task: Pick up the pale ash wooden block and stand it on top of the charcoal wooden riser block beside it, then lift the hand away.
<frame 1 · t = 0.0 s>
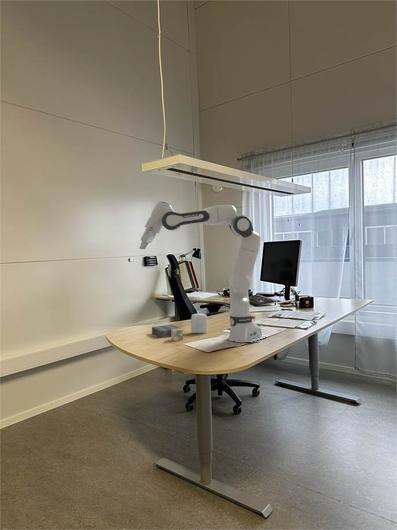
hand: (141, 249, 204), 54 cm above the table, tool tilted 30°, fingers open, 8 cm apart
riser block: (166, 334, 225), on the table
photo printer: (199, 333, 226), on the table
ash block: (177, 339, 211), on the table
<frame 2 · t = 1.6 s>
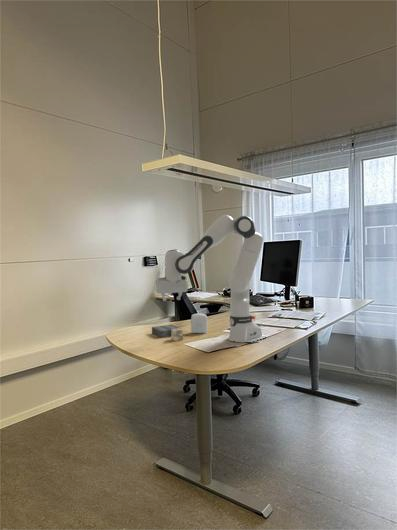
hand: (171, 300, 209), 24 cm above the table, tool pointing down, fingers open, 8 cm apart
nothing on the table moved.
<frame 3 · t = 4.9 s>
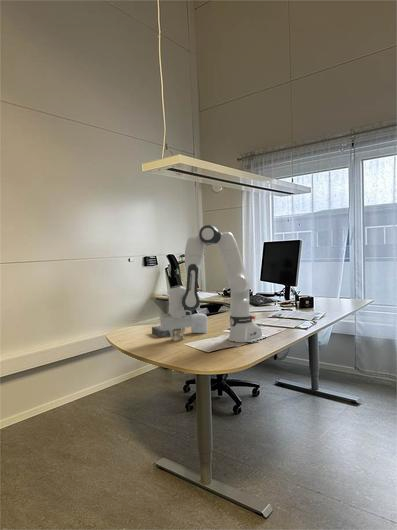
hand: (177, 335, 211), 2 cm above the table, tool pointing down, fingers closed on ash block, 5 cm apart
ash block: (177, 339, 211), on the table, touching gripper
everything else where it was.
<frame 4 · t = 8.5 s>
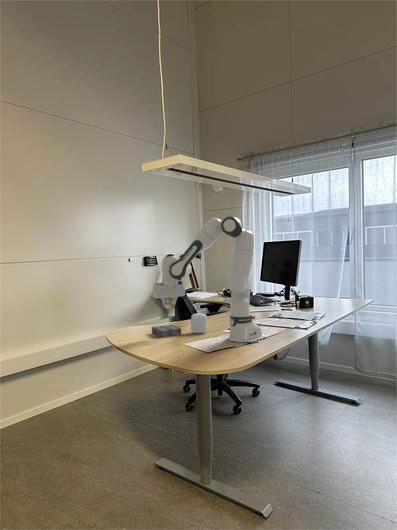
hand: (169, 304, 217), 20 cm above the table, tool pointing down, fingers closed on ash block, 5 cm apart
ash block: (169, 308, 217), point 18 cm above the table, touching gripper
everything else where it was.
when the fingers open (8 cm above the table, at t = 12.1 s): ash block drops 1 cm, resting on riser block.
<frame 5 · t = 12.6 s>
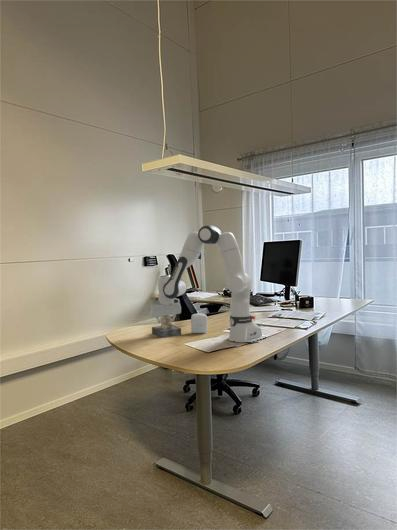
hand: (166, 322, 224), 8 cm above the table, tool pointing down, fingers open, 8 cm apart
ash block: (166, 327, 225), point 4 cm above the table, touching riser block
everything else where it was.
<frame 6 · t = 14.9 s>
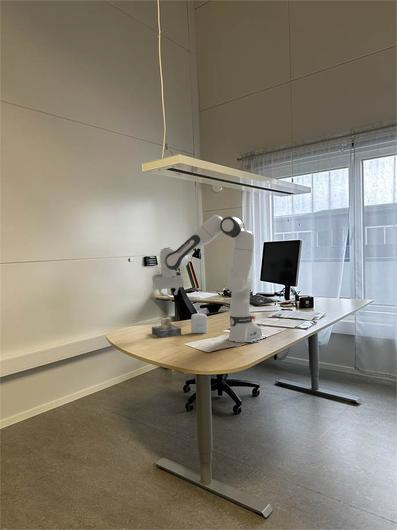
hand: (168, 295, 223), 25 cm above the table, tool pointing down, fingers open, 8 cm apart
nothing on the table moved.
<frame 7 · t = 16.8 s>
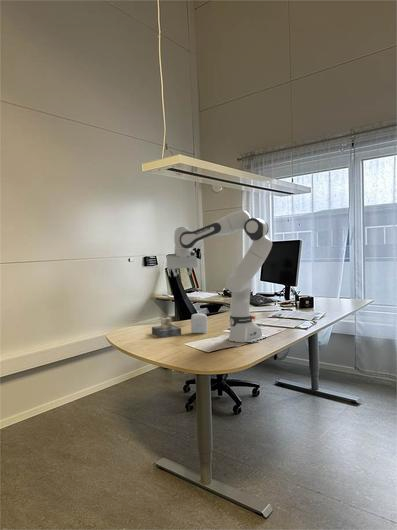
hand: (182, 275, 221), 37 cm above the table, tool pointing down, fingers open, 8 cm apart
nothing on the table moved.
at the end: ash block inside the target area on the riser block (0.1 cm from its centre), point 4.0 cm above the riser block's base; ash block tilted 0°; the gripper is holding nothing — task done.
